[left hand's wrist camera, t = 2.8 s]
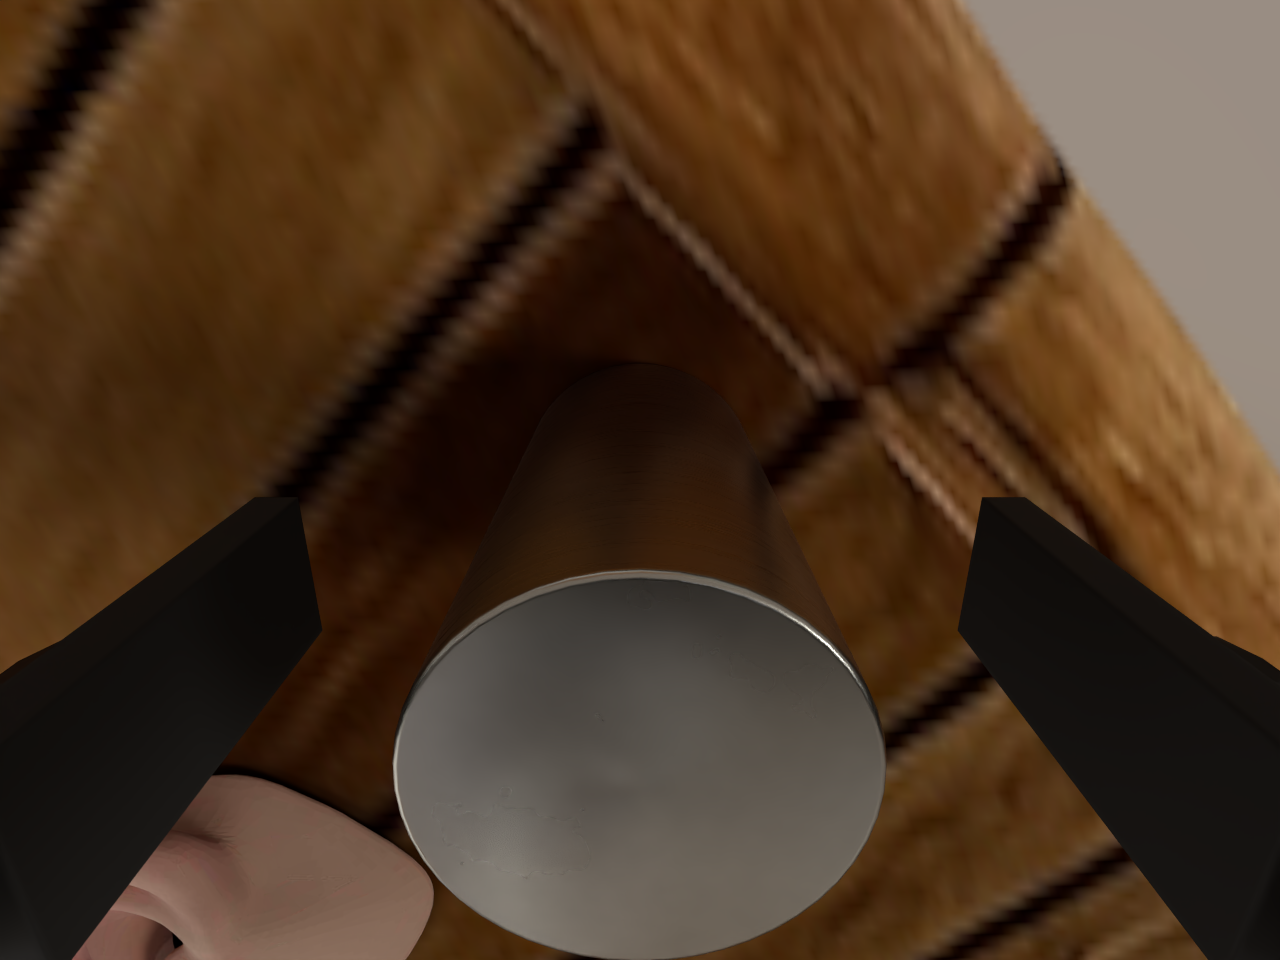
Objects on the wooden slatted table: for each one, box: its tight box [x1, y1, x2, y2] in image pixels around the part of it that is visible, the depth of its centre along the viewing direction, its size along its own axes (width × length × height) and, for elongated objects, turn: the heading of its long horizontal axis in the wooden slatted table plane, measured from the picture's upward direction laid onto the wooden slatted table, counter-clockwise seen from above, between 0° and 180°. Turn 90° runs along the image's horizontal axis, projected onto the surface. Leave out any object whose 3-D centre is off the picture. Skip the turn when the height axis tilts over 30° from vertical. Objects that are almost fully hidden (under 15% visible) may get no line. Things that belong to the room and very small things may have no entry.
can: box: [392, 363, 887, 960], centre depth 13 cm, size 6×6×10 cm
